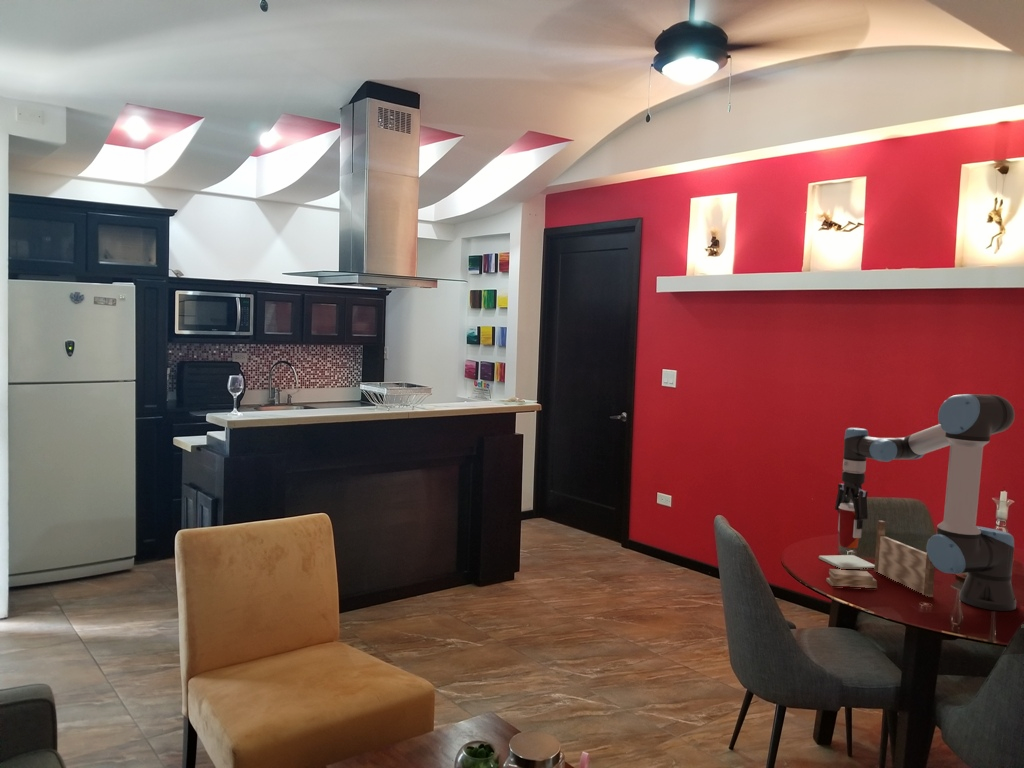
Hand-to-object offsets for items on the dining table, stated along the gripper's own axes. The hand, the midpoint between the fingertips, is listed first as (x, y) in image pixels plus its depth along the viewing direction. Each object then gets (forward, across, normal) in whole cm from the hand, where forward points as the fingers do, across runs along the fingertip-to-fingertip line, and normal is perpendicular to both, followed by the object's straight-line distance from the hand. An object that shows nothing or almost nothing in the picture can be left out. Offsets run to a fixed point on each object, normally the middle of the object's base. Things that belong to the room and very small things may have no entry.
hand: (849, 534), depth 283 cm
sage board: (+11, 0, 0) cm, 11 cm away
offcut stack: (+11, +23, -14) cm, 29 cm away
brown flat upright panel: (+10, +23, +4) cm, 26 cm away
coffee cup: (+4, 0, 0) cm, 4 cm away
